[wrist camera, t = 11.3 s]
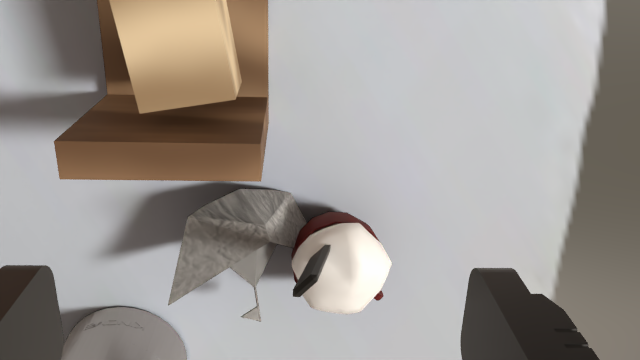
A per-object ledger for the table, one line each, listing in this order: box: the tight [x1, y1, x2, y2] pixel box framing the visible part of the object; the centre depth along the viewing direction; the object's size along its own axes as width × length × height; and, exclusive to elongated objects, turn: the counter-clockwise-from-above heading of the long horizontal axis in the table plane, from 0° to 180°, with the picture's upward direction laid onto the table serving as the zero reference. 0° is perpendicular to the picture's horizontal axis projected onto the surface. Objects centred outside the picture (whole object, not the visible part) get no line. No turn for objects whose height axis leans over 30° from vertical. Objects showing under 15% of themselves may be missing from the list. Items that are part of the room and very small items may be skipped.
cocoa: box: [291, 212, 392, 314], centre depth 37 cm, size 10×6×12 cm, turn 20°
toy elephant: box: [168, 189, 307, 322], centre depth 40 cm, size 12×6×9 cm
